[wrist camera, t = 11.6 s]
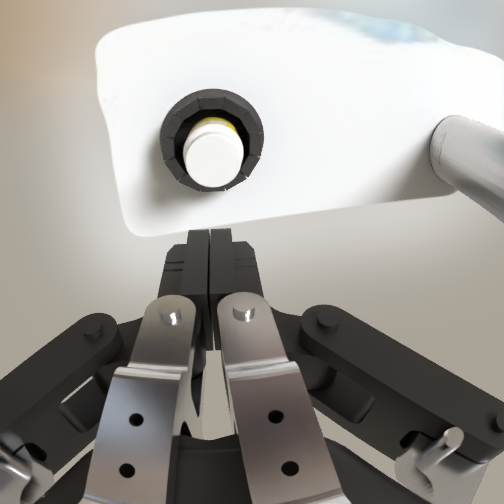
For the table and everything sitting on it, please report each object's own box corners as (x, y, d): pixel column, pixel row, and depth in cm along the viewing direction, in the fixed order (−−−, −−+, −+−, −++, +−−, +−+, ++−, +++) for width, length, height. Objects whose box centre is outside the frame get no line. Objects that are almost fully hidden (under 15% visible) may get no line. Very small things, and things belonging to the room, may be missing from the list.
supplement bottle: (236, 162, 29) (244, 194, 22) (188, 162, 28) (180, 194, 21) (239, 115, 26) (249, 130, 19) (189, 114, 26) (179, 129, 19)
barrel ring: (264, 88, 26) (271, 89, 23) (261, 184, 31) (266, 196, 28) (158, 92, 24) (151, 94, 22) (165, 188, 30) (160, 201, 27)
